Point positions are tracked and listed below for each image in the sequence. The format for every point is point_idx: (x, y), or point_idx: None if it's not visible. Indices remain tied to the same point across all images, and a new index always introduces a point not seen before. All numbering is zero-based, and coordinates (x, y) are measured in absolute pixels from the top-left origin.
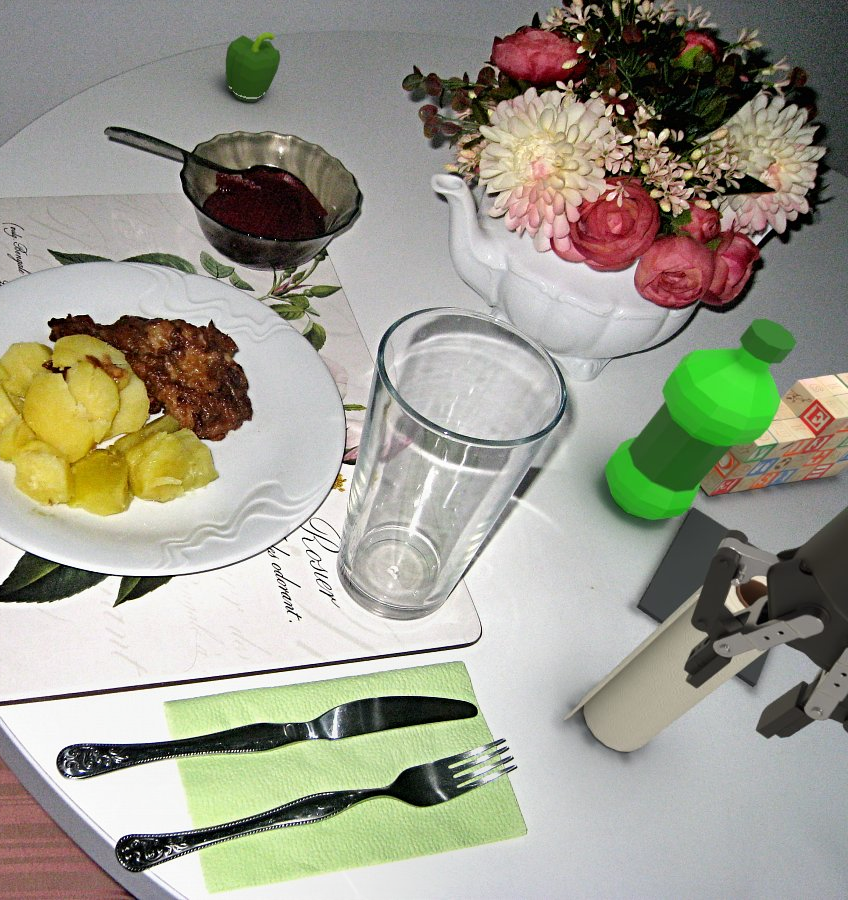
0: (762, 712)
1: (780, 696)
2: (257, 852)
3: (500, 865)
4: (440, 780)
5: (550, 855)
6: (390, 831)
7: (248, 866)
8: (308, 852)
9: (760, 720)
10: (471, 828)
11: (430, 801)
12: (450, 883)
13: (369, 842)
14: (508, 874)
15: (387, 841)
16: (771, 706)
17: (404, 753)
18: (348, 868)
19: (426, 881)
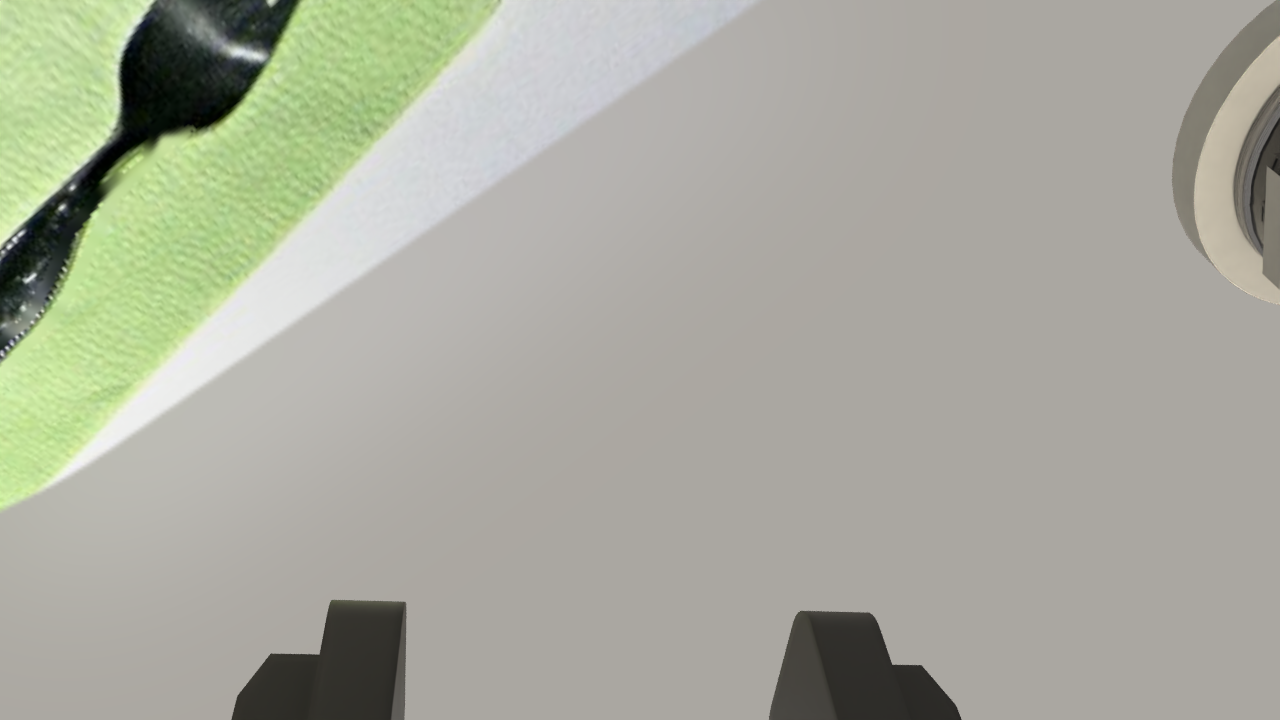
0: (797, 619)
1: (839, 715)
2: (3, 431)
3: (475, 125)
4: (220, 18)
5: (582, 15)
6: (200, 222)
7: (12, 460)
8: (85, 370)
9: (784, 685)
10: (365, 86)
11: (234, 91)
12: (389, 237)
13: (177, 274)
14: (502, 132)
15: (209, 246)
16: (812, 693)
17: (88, 12)
18: (178, 346)
19: (339, 267)
